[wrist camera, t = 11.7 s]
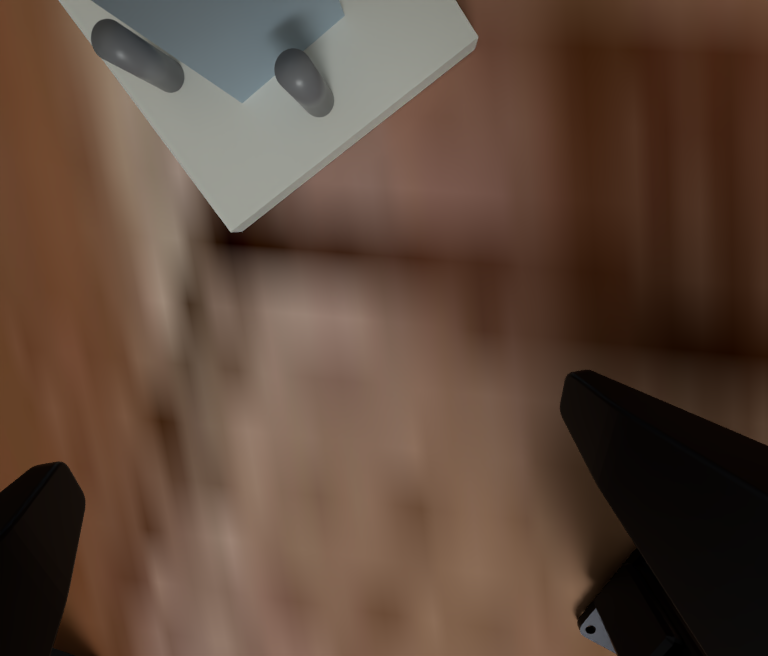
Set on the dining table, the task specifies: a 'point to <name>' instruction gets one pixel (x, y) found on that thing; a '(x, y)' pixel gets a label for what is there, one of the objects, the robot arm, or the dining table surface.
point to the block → (228, 34)
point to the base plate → (283, 96)
